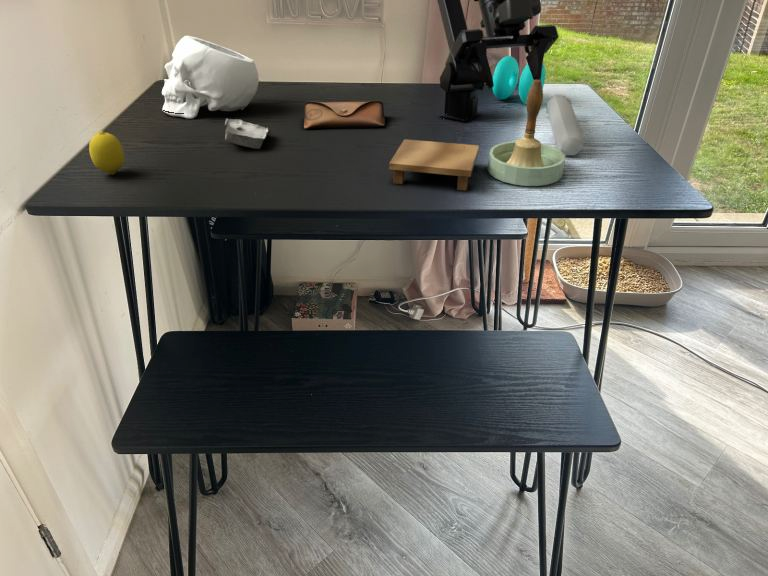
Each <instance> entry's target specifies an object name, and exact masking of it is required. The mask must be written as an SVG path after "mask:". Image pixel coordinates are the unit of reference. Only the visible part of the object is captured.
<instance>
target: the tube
mask: <svg viewBox="0 0 768 576" xmlns="http://www.w3.org/2000/svg"><path fill="white" fill-rule="evenodd" d="M545 112H546V114H547V115H548V119H549V120H548V121H549V123H550V127H551V131H552V135H553V140H554V142H555V148H557V149H559V150H560V151H562V152H563V154H564V155H565V157H566V156H567V157H576V155H578V154H579V152H581V151H582V149H583V147H584V141H585V137H584V134H583V132H582V130H581V127H580V125H579V122H578V118H577V117H576V114H575V111H574V108H573V106H572V101H571V100H570V98H568V97H567V96H566V95H564V94H554V95H553V96H552V97H551V98H550V99H549V100H548V101H547V103H546V110H545Z"/></svg>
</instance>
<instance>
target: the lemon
mask: <svg viewBox="0 0 768 576" xmlns="http://www.w3.org/2000/svg"><path fill="white" fill-rule="evenodd" d="M124 151H125V150H124V148H123V146H122V144H121V141H119V139H118V138H117V137H116V136H115V135H114V134H112V133H109V132H105V131H103V130H100V131H98V132H97V133H96V134H94V135H93V136H92V137H91V139H90V141H89V145H88V152H89V156H90V159H91V161H92V163H93V165H94V167H96V168H97V169H98V170H99V171H101V172H105V173H108V174H110V175H115V174H116V172H117V171H120V169H121V168H122V167H123V165H124V163H125V152H124Z"/></svg>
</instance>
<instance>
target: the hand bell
mask: <svg viewBox="0 0 768 576" xmlns="http://www.w3.org/2000/svg"><path fill="white" fill-rule="evenodd" d="M543 90H544V89H543ZM543 90H542V83H541V80H534V81H533V84H532V86H531V88H530V90H529V93H528V96H527V104H526V115H527V118H526V124H525V130H524V135H523V137H520V138H519V139H517V140H515V141H516V143H515V147H514V151H513V153H512V156H511V158H510V159H509V160H508V161H507V162H506V163H507V164H511V165H515V166H521V167H545V165H544V163H543V161H542V157H541V143H542V142H541V141H540V140H538V139H536V138H535V133H536V126H537V119H538V116H539V114H540V111H541V108H542V106H543V100H544V91H543Z"/></svg>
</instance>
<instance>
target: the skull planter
mask: <svg viewBox="0 0 768 576" xmlns="http://www.w3.org/2000/svg"><path fill="white" fill-rule="evenodd" d="M171 55H172V58H171V61H169V62H166V63H165V65H164V69H165V72H166V73H167V79H166V78H165V79H163V80H164V85H163V87H162V90H161V95H162V96H164V103H163V106H162V111H163V110H165V111H169V112H174V113H168V112H165V111H163V112H164V113H165V114H167V115H169V116H170V117H179V118H185V119H189V120H190V119H191V120H192V119H194V118H196V117H197V116H198V113H199V111H200V108H201V107H204V106H205V105H207V108H208V111H210V112H216V111H218V110H219V111H220V112H235V111H238V110H241V111H243V110H244V109H245V108H246V107H248V105H249V104H250V103H251V101H253V98H254V97H255V95H256V94H257V91H258V88H259V81H260V80H259V76H260V75H259V71H258V68H257V66H256V64H255V61H254V59H252V58H250V57H248V56H246V55H244V54H242V53H240V52H237V51H235V50H233V49H230V48H227V47H225V46H222V45H219V44H217V43H214V42H211V41H208V40H205V39H202V38H199V37H196V36H191V35H184V36H183V37H181V39H180V40H179V41H178V42H177V43H176V45H175V48H174V50H173V52H172V54H171ZM175 113H184V114H175Z"/></svg>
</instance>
